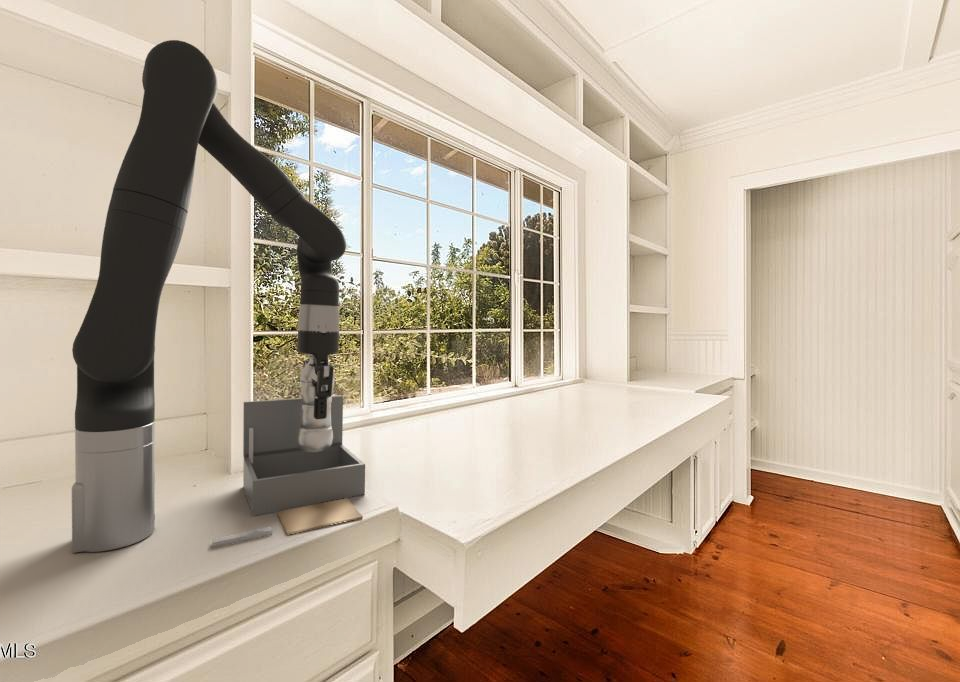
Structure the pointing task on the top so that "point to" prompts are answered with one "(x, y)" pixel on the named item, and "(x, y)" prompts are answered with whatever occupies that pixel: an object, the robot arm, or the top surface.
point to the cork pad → (318, 516)
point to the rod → (241, 537)
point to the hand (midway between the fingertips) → (316, 415)
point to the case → (294, 459)
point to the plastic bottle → (313, 431)
